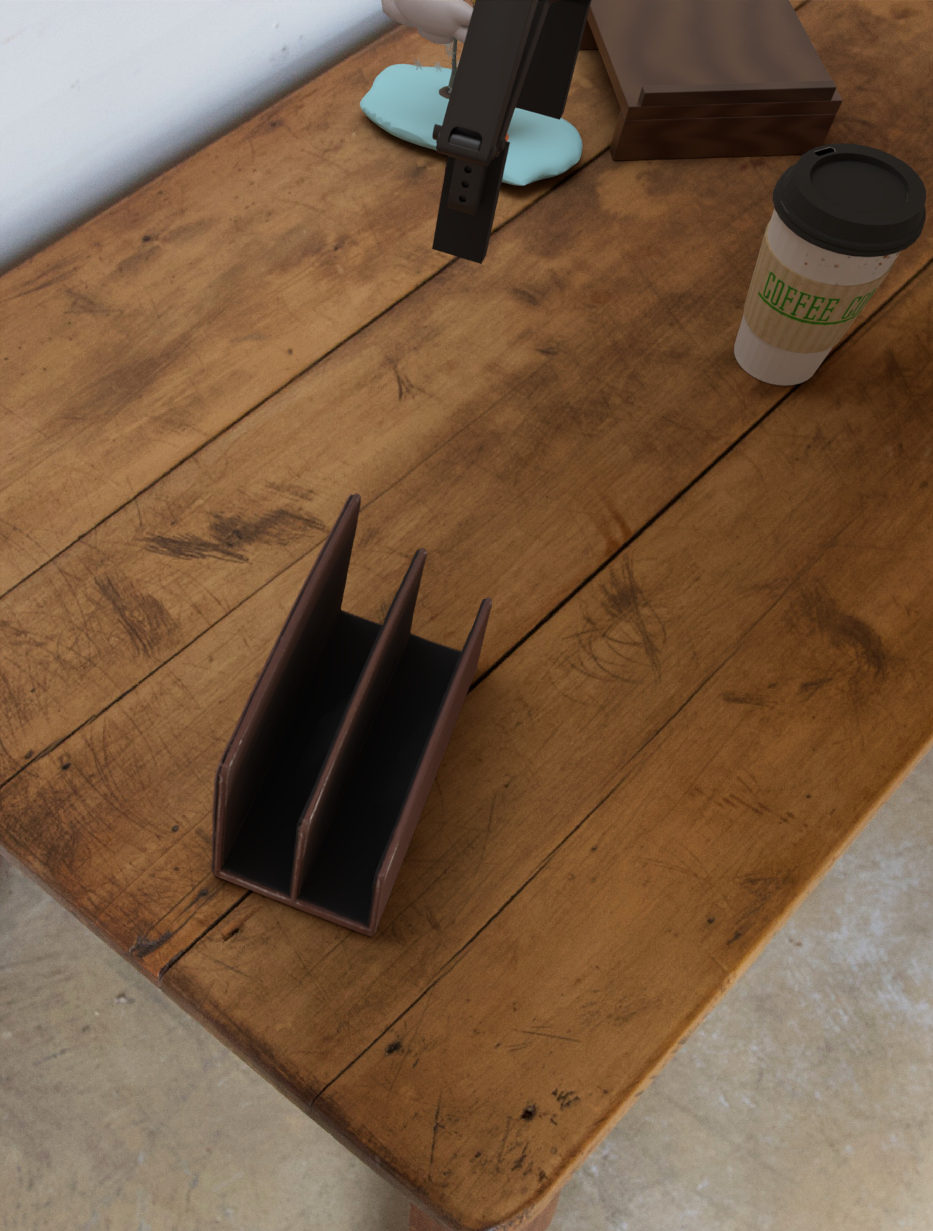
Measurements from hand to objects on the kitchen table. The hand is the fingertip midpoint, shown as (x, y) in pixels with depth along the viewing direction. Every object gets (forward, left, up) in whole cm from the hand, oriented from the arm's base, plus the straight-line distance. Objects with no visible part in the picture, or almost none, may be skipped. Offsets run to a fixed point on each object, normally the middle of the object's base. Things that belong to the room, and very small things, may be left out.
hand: (500, 178), depth 69 cm
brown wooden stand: (-29, -43, -24) cm, 57 cm away
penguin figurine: (-8, -38, -24) cm, 46 cm away
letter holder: (+9, +23, -24) cm, 34 cm away
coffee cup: (-27, -10, -24) cm, 37 cm away
